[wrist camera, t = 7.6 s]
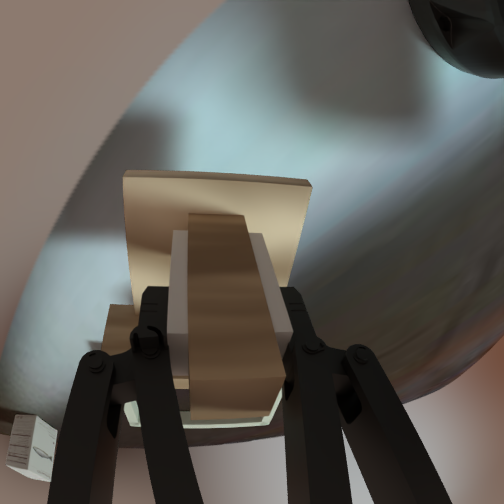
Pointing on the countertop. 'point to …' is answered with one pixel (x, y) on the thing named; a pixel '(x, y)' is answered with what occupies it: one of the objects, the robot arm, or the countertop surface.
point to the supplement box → (32, 447)
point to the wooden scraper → (214, 278)
